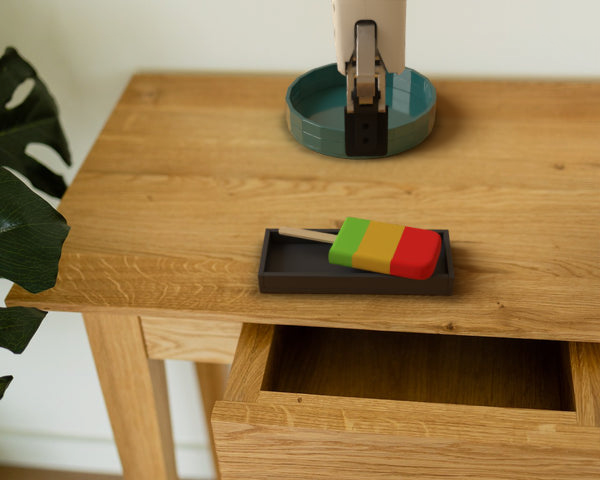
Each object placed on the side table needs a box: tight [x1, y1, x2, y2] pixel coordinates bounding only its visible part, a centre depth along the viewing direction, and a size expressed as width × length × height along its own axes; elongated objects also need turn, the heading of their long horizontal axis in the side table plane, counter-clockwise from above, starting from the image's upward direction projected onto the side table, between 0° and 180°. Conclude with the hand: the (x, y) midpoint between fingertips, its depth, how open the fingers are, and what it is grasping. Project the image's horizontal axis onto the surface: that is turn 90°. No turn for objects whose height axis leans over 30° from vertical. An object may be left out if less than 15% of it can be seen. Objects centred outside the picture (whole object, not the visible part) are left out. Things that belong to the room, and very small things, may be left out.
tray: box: [257, 227, 455, 296], centre depth 71 cm, size 17×7×2 cm, turn 86°
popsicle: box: [279, 216, 441, 280], centre depth 69 cm, size 6×15×2 cm, turn 71°
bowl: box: [284, 62, 437, 160], centre depth 91 cm, size 18×18×4 cm
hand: (366, 121), depth 61 cm, fingers open, 9 cm apart
